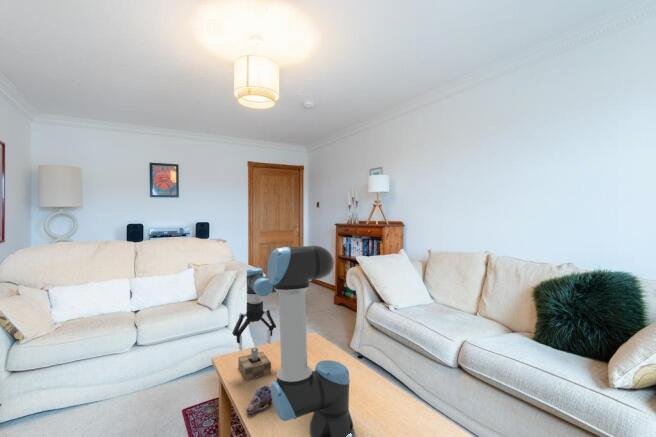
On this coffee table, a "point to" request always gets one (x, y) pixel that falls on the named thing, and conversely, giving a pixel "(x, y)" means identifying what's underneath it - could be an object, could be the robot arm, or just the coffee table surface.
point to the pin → (254, 355)
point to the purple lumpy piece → (260, 400)
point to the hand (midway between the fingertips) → (254, 346)
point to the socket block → (254, 366)
